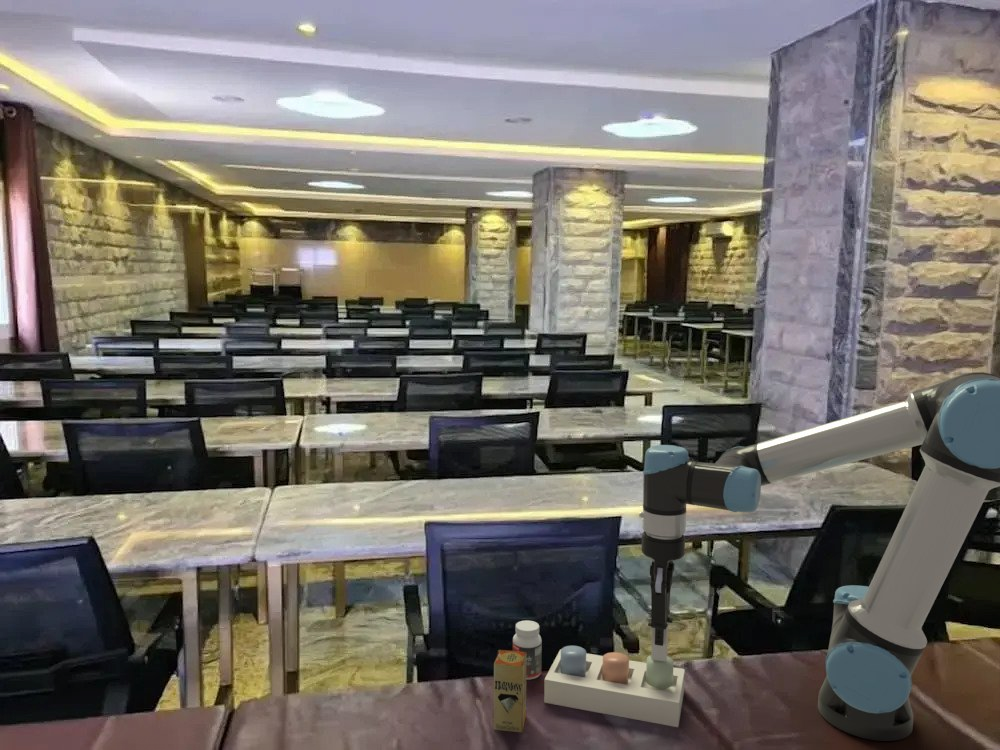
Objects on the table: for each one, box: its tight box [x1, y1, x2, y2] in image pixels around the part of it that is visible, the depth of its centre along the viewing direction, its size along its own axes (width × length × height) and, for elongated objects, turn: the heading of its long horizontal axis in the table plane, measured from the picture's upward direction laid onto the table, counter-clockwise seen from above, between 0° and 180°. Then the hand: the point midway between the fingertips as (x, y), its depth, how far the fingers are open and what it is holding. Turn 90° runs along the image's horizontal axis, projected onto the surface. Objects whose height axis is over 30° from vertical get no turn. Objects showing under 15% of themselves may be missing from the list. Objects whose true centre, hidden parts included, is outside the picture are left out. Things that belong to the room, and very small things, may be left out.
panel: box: [543, 648, 686, 728], centre depth 136 cm, size 24×12×4 cm, turn 71°
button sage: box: [645, 654, 674, 689], centre depth 133 cm, size 5×5×4 cm
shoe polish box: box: [493, 649, 527, 733], centre depth 128 cm, size 5×5×12 cm
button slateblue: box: [560, 645, 587, 677], centre depth 139 cm, size 5×5×4 cm
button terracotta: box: [602, 651, 630, 684], centre depth 136 cm, size 5×5×4 cm
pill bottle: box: [512, 620, 543, 681], centre depth 145 cm, size 6×6×10 cm
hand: (659, 658), depth 133 cm, fingers closed
